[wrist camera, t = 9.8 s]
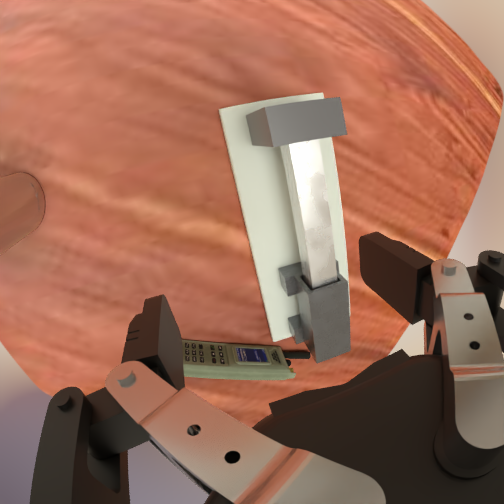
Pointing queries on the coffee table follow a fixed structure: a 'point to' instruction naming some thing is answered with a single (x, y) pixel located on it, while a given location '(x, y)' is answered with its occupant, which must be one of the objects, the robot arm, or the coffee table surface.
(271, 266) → the base board
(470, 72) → the coffee table surface
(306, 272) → the silver metal bar
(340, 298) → the sleeve
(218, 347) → the handheld radio
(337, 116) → the socket
